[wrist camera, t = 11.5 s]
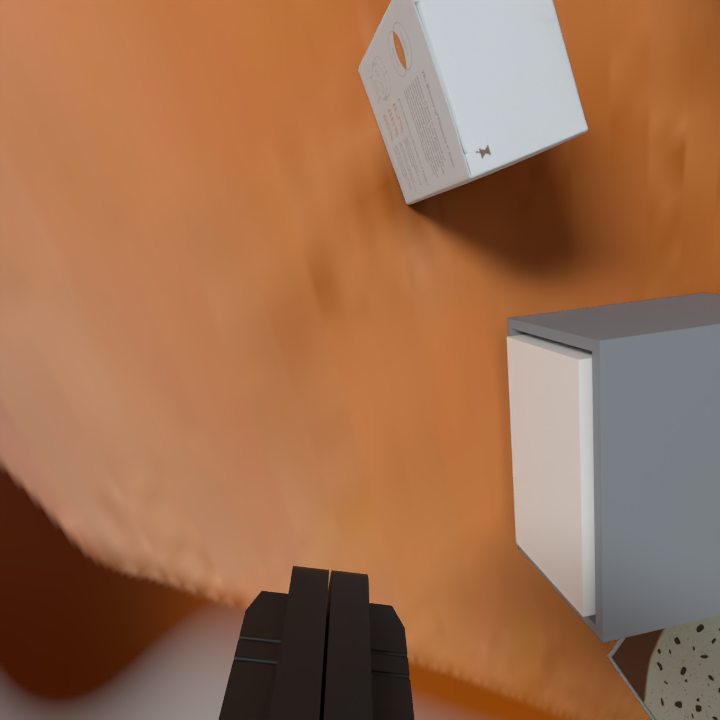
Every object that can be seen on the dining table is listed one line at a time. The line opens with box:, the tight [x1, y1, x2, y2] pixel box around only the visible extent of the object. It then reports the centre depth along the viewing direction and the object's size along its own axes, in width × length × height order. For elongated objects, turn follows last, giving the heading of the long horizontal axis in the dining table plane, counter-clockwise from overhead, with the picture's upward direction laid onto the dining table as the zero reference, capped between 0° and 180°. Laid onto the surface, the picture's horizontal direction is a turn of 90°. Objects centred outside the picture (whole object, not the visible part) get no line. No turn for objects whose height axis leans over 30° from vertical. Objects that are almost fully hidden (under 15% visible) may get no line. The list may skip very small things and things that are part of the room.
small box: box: [358, 0, 588, 205], centre depth 26 cm, size 8×6×10 cm
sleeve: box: [508, 293, 720, 643], centre depth 32 cm, size 14×16×10 cm
